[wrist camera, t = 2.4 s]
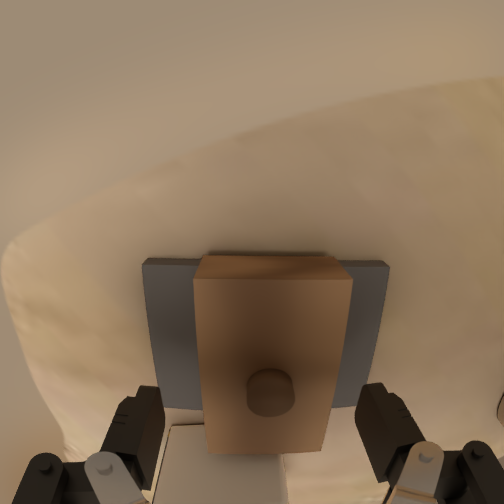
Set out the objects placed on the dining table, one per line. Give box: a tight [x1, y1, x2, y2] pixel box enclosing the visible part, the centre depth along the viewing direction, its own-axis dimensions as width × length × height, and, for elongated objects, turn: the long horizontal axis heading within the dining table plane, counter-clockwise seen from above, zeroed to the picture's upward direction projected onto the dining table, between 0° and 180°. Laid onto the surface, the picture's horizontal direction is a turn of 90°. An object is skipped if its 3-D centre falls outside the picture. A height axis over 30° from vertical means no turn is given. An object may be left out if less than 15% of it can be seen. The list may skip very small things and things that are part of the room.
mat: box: [142, 258, 390, 410], centre depth 17 cm, size 12×9×1 cm
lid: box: [193, 255, 353, 454], centre depth 14 cm, size 6×10×4 cm, turn 179°
